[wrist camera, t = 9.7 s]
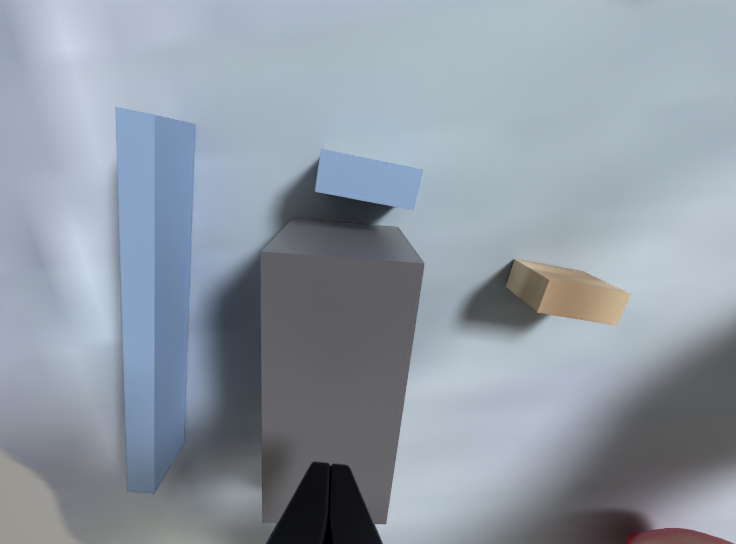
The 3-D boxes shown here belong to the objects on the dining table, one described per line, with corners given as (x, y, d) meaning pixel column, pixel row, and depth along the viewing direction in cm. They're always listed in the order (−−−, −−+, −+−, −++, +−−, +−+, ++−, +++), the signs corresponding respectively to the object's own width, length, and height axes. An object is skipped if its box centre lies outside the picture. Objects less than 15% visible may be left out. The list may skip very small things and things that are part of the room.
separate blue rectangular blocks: (408, 167, 12) (422, 169, 10) (344, 460, 16) (343, 511, 14) (164, 118, 11) (115, 106, 9) (161, 440, 16) (127, 491, 13)
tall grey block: (397, 226, 13) (424, 263, 8) (375, 415, 16) (385, 524, 11) (293, 217, 13) (260, 251, 8) (289, 412, 16) (262, 522, 11)
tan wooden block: (742, -123, 10) (862, -209, 8) (572, 298, 14) (616, 325, 12) (653, -153, 10) (748, -251, 7) (505, 286, 14) (537, 312, 12)
